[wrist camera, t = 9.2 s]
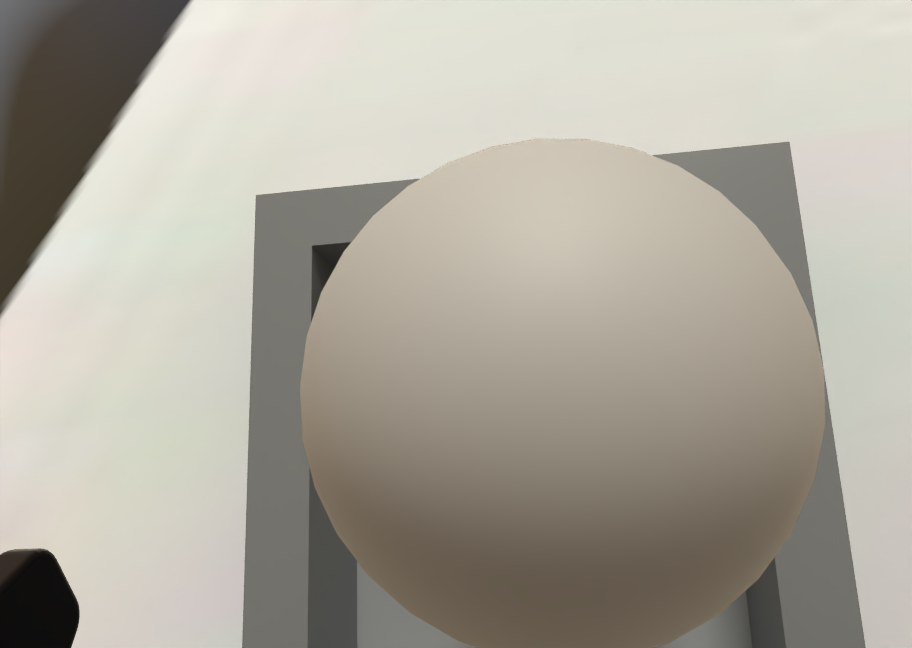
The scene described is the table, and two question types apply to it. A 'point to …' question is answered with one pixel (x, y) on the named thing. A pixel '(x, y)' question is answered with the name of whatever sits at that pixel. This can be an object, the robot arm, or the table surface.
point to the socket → (332, 564)
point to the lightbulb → (562, 398)
